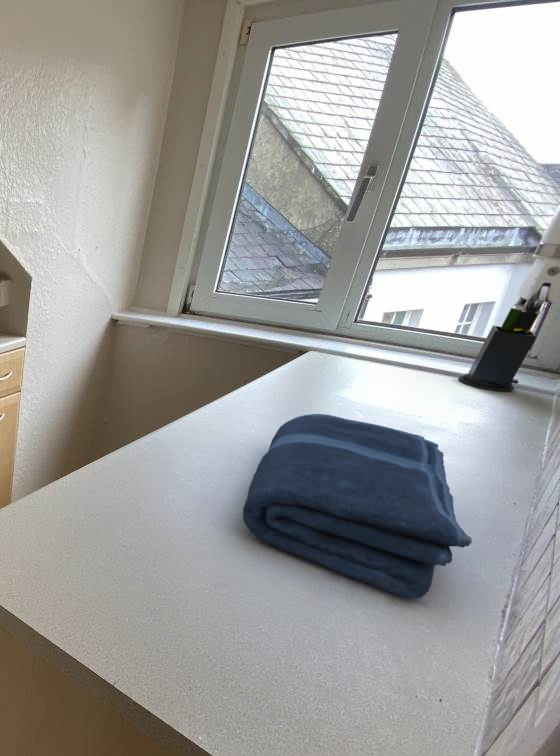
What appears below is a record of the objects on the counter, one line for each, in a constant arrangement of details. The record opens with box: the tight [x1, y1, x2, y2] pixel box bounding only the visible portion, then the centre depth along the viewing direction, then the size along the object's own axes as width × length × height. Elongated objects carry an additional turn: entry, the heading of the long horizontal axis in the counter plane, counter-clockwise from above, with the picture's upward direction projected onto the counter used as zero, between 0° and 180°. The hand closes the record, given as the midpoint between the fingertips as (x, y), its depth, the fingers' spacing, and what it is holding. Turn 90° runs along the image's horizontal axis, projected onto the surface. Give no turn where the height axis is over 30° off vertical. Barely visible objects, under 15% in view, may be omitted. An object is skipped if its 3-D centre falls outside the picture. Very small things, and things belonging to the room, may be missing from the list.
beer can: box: [499, 303, 542, 335], centre depth 141 cm, size 5×5×12 cm
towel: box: [242, 413, 473, 600], centre depth 85 cm, size 24×43×10 cm, turn 142°
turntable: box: [457, 375, 515, 393], centre depth 148 cm, size 11×11×1 cm
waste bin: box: [463, 325, 538, 388], centre depth 144 cm, size 10×10×14 cm
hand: (517, 325), depth 141 cm, fingers closed on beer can, 5 cm apart
